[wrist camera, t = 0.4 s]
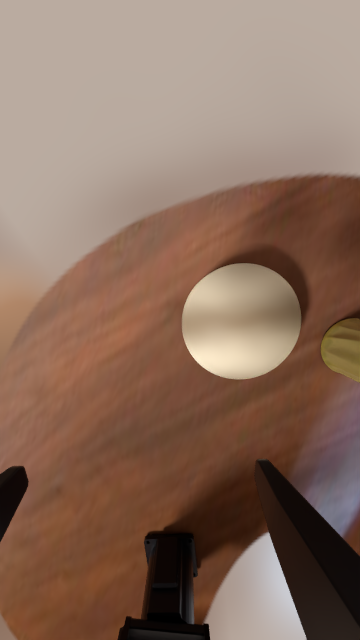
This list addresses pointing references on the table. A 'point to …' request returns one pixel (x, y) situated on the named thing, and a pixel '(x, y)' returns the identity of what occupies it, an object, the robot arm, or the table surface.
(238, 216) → the table surface
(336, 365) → the vase
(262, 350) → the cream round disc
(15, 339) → the table surface
